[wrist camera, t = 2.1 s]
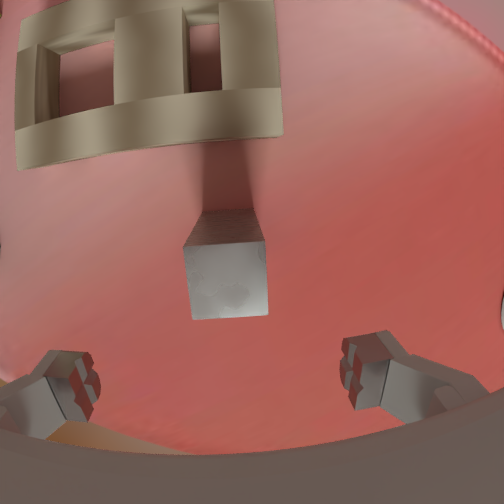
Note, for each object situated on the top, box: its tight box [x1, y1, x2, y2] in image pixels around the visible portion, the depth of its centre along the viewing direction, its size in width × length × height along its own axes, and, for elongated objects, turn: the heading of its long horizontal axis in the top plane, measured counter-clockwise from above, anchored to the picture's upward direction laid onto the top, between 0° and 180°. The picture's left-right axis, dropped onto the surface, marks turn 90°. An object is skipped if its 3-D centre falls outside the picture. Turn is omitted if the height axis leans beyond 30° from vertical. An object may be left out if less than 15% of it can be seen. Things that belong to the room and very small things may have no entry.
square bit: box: [183, 208, 268, 319], centre depth 21 cm, size 4×4×10 cm
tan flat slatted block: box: [15, 0, 284, 171], centre depth 20 cm, size 20×13×4 cm, turn 93°
